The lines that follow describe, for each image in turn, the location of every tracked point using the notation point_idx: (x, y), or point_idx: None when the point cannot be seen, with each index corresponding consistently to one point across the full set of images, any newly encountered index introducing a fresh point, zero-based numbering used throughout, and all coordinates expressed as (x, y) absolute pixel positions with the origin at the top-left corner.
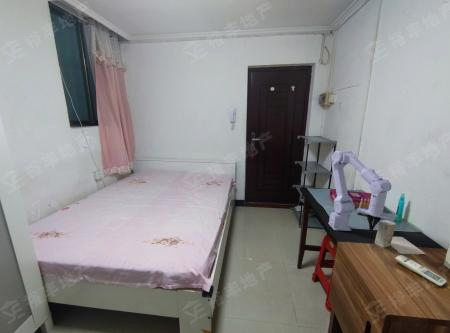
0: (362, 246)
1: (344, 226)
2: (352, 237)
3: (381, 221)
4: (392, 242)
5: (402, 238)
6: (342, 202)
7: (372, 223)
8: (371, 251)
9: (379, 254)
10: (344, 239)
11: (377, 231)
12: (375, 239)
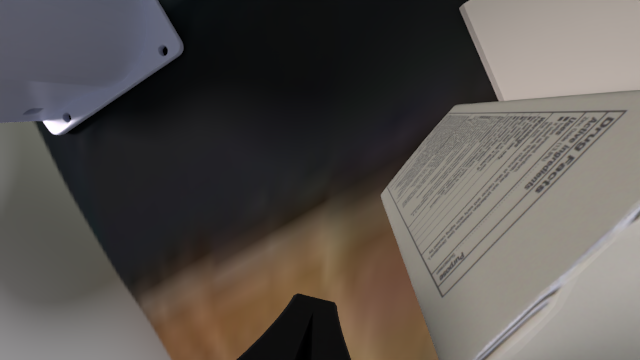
0: (287, 288)
1: (91, 80)
2: (211, 181)
3: (510, 349)
4: (561, 95)
5: None
6: None
7: (297, 353)
8: (344, 326)
9: (395, 340)
10: (162, 250)
11: (401, 251)
12: (385, 208)
